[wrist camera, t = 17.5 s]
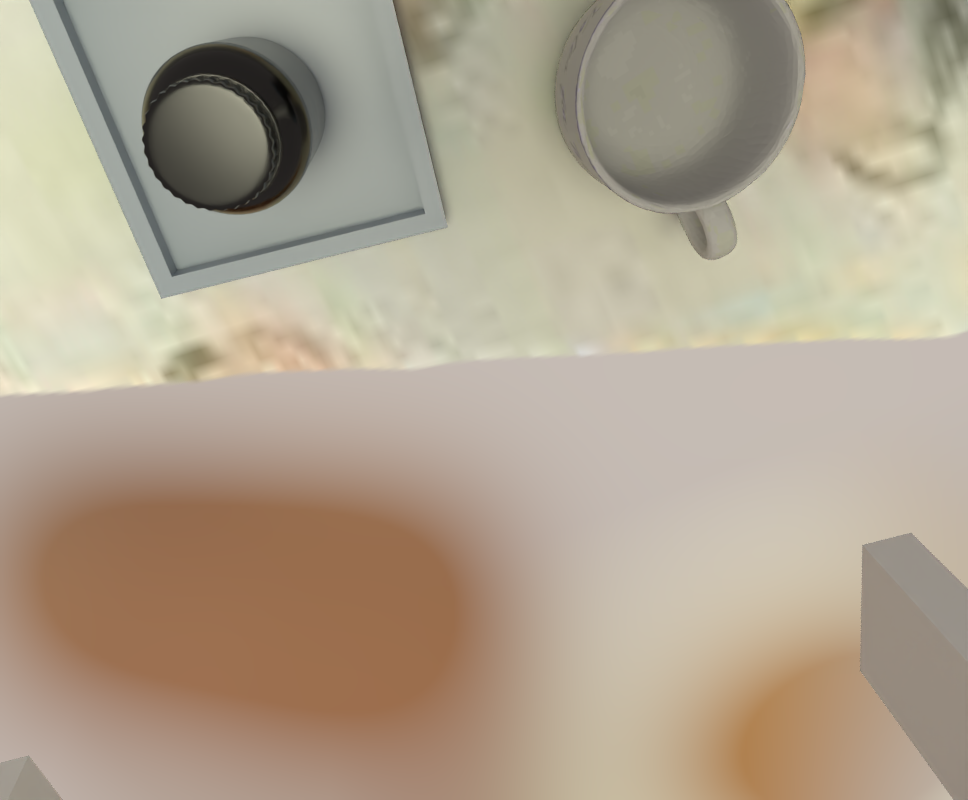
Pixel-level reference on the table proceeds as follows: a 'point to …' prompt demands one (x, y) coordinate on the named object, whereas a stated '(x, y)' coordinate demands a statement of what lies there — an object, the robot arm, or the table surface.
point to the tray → (333, 170)
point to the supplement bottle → (232, 124)
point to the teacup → (681, 103)
